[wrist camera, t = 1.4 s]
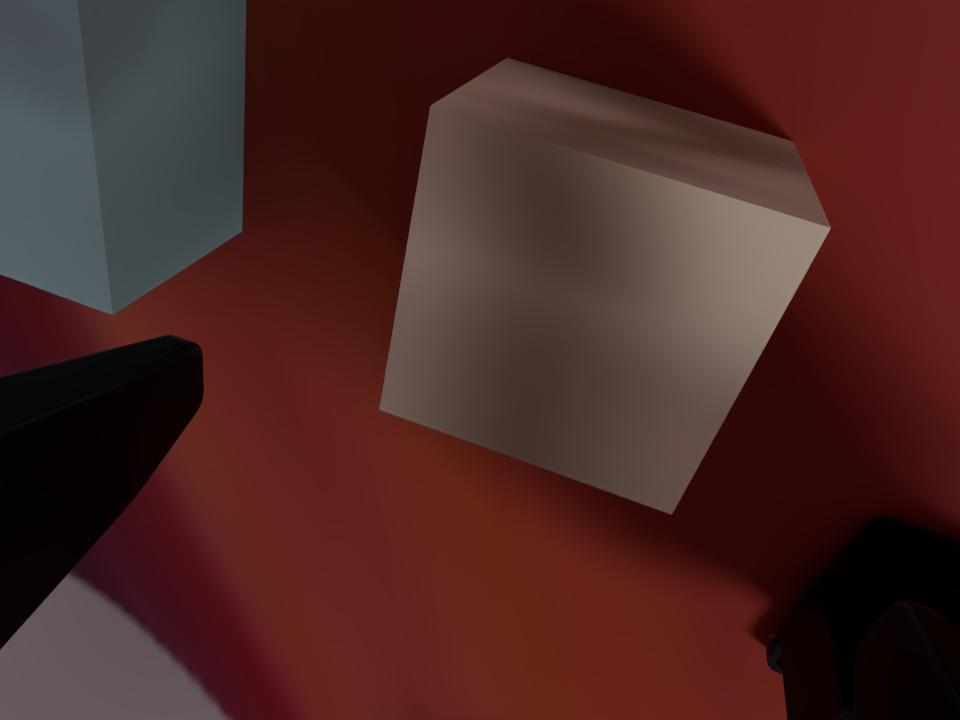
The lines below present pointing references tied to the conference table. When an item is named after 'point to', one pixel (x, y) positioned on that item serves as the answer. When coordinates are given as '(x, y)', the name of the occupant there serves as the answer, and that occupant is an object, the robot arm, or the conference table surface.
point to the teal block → (118, 141)
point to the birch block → (592, 276)
